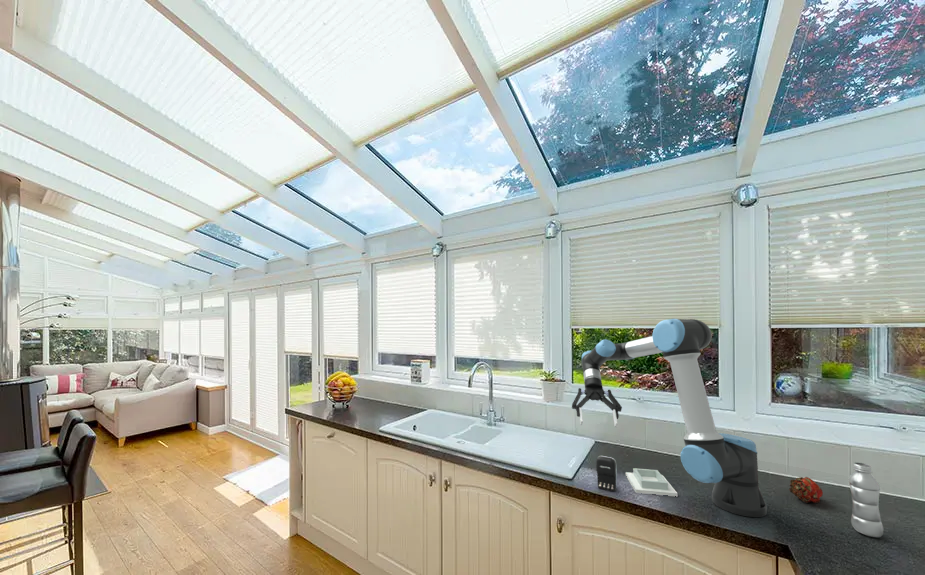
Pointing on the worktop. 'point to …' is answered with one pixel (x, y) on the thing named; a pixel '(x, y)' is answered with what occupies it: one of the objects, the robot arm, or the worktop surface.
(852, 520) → the plastic bottle
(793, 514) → the worktop surface
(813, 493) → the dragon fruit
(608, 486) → the black battery charger
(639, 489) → the tray
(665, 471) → the worktop surface
